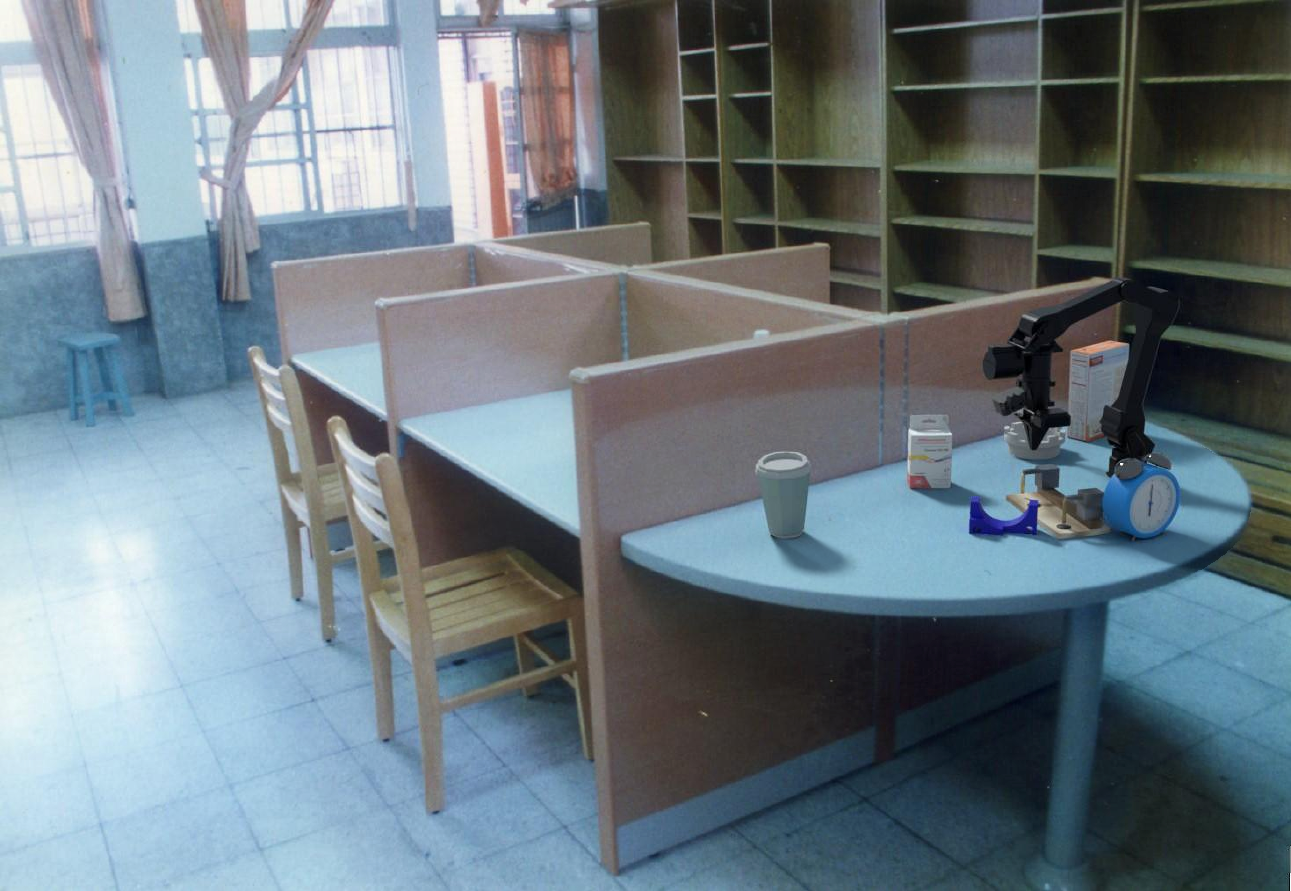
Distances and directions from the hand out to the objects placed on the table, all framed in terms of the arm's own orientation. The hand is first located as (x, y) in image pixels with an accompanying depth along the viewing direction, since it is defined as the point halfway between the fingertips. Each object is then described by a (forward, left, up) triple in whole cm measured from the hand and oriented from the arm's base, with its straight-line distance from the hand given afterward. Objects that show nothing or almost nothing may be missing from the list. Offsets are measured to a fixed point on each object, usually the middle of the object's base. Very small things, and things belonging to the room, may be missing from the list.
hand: (1033, 449), depth 240 cm
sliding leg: (+2, +7, -7) cm, 9 cm away
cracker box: (-30, -30, -9) cm, 44 cm away
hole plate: (+3, +16, -8) cm, 18 cm away
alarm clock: (-7, +28, -9) cm, 30 cm away
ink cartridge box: (+19, -8, -9) cm, 22 cm away
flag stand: (-11, -22, -9) cm, 27 cm away
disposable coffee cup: (+55, +10, -9) cm, 56 cm away
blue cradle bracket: (+15, +20, -9) cm, 27 cm away
